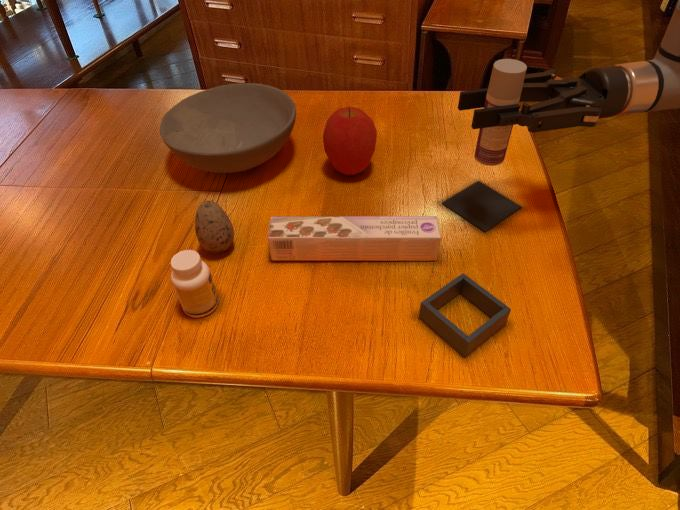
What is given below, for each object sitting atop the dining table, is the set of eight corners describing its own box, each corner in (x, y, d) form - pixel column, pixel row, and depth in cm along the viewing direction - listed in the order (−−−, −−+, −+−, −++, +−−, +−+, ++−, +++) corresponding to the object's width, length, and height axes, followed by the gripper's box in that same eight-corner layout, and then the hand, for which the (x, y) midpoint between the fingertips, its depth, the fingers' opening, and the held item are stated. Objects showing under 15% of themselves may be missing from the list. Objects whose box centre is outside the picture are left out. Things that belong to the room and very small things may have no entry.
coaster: (521, 208, 87) (522, 206, 87) (484, 232, 83) (485, 231, 83) (478, 182, 93) (478, 180, 92) (441, 204, 88) (442, 202, 88)
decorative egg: (242, 239, 83) (231, 193, 76) (228, 263, 79) (216, 217, 72) (210, 233, 84) (197, 188, 77) (195, 257, 80) (179, 212, 73)
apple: (384, 178, 94) (387, 113, 84) (335, 190, 92) (332, 125, 82) (364, 150, 101) (364, 87, 91) (318, 161, 99) (313, 97, 89)
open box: (505, 324, 70) (511, 309, 67) (464, 357, 66) (468, 343, 63) (459, 287, 74) (463, 272, 72) (418, 317, 71) (420, 302, 68)
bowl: (263, 208, 89) (255, 163, 82) (145, 179, 96) (128, 135, 89) (320, 135, 106) (317, 92, 98) (216, 114, 113) (206, 73, 106)
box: (434, 238, 82) (438, 213, 78) (438, 261, 78) (442, 235, 74) (273, 240, 83) (269, 215, 79) (270, 263, 79) (265, 238, 75)
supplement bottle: (225, 307, 73) (211, 263, 66) (191, 324, 71) (173, 280, 64) (210, 285, 76) (195, 240, 69) (177, 301, 74) (158, 256, 67)
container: (481, 145, 80) (500, 55, 69) (508, 154, 78) (532, 63, 67) (469, 159, 77) (487, 68, 66) (497, 169, 75) (520, 76, 64)
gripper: (639, 144, 70) (486, 166, 67) (574, 87, 82) (442, 104, 79) (663, 95, 64) (497, 117, 62) (589, 42, 77) (448, 58, 74)
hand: (466, 110), depth 70 cm, fingers closed on container, 5 cm apart
